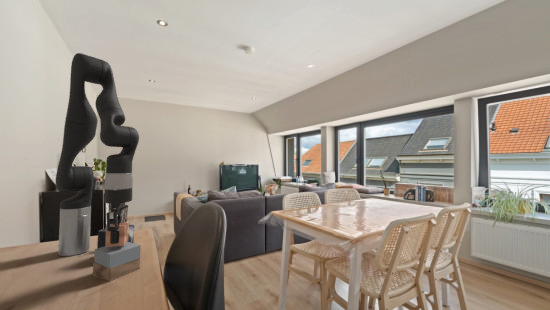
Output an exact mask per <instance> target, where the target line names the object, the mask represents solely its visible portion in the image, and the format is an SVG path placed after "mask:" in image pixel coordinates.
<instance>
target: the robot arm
mask: <svg viewBox="0 0 550 310" xmlns="http://www.w3.org/2000/svg"><path fill="white" fill-rule="evenodd" d="M71 60H72V61H71V65H70V66H71V67H70V79H69V81H70V82H69V83H70V84H69V96H68V104H67V109H66V114H65V120H64V127H63V137H62V138H63V139H62V147H61V152H60V157H59V161H58V166H57V170H56V173H55V186H56V188H57V190H58V191H65V192H66V191H78V190H79V191H78V192H77V194H75V195H73V196H71V197H68V198H66V199H63V200H61V202H60V203H59V204H60V205H59V206H60V207H59V229H58V230H59V231H58V232H59V234H58V253H57V254H58V256H59V257H68V256H69V257H70V256H75V255H79V254H83V253H84V254H85V253H86V252H88V251H89V250H90V248H91V247H90V244H91V242H90V241H91V218H92V217H91V216H92V215H91V214H92V199H93V188H94V177H95V176H94V170H93V168H92V167H91V166H88V165H87V166H86V165H85V166H84V165H83V166H82V165H79V166H78V165H76V166H75V165H73V164H74V162H75V160H76V157H77V156H78V155H79V153H80V152H82V150H84V149H85V148H86V147H87V146H88V145H89V144H90V143H91V142H92V141H93V140H94V139H95V137H96V133H97V128H98V121H99V120H100V132H99V138H100V139H99V140H100V141H101V143H102V144H103V145H105V146H106V147H112V148H122V149H121V151H120V152H119V153H114V154H110V155H107V158H106V162H105V164H106V166H105V178H104V192H103V194H104V195H103V199H104V200H103V202H104V203H105V204H110V205H111V206H110V208H109V209H108V212H106V227H107V230H108V231H110V232H111V234H110V243H111V244H117V243H119V230H120V224H121V223H125V222H128V208H129V205H128V204H126V203H130V202H132V200H133V182H134V181H133V160H134V158H135V157H134V156H135V154H136V150H137V148H138V144H139V141H140V134H139V132H138V130H137V129H136V128H134V127H133V126H127V125H126V126H125V125H124V123H125V122H126V116H125V113H124V110H123V108H122V106H121V103H120V101H119V97H118V94H117V88H116V82H115V77H114V72H113V69H112V67H111V65H110V64H109V63H108V61H105V60H104V59H102V58H101V59H100V58H98V57H94V56H91V55H88V54H85V53H82V52H81V53H80V52H78V53H75V54H74V55H73V57H72V59H71ZM85 83H90V84H95V85H100V86H101V87H102V90H101V92H100V93H99V94H98V96H97V97H96V98H95V108H96V112H97V114H98V116H97V114H96V112H95V110H94V109H93V107H92V105H91V104H90V101H89V99H88V97H87V94H86V89H85V88H86V86H85V85H86V84H85ZM98 117H99V120H98ZM113 224H115V227H113Z"/></svg>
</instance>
